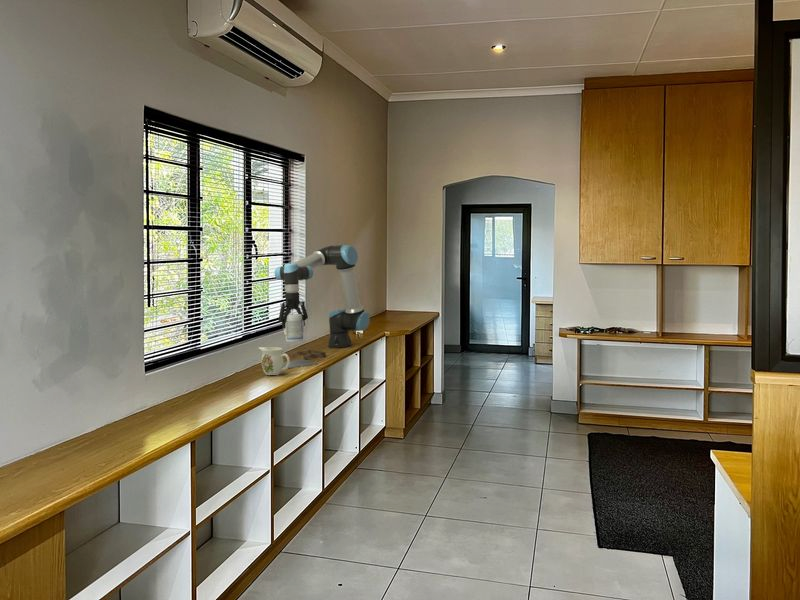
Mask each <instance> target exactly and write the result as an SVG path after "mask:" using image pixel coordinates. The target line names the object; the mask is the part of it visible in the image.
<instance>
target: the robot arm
mask: <svg viewBox="0 0 800 600" xmlns="http://www.w3.org/2000/svg"><path fill="white" fill-rule="evenodd" d="M358 258H359V256H358V251H357V249H356V248H355V247H354V246H352V245H350V244H348V245H347V244H343V245H342V244H340V245H329V246H325V247H323V248H320V249H317V250H315V251H314V252H312V254H310V255H308V256H305V257H303V258H301V259H299V260H297V261H294V262H290V263H285V264H284V266H277V267H276V268H275V269H274V278H276V280H279V281H284V292H285V294H284V296H285V297H284V298H285V302H281V303H280V305H279V306H280V309H279V310H280V311H279V315H278V321H279V322H280V323H281V325H282V326H281V327H282V329H283V334H284V335H285V334H288V332H287V322H286V320H287V316H288V315H289V314H290V312H291V311H292V310H295V311H296V314H302V325H303V333H305V326H306V320H308V319H309V316H308V312H307V310H306V305H305V304H306V303H305V302H306V301H304V300H303V301H302V300H300V286H299V285H300V283H299V282H300V281H307V280H311V279H312V278H313V277H314V270H313V269H314V268H316V267H322V266H335V268H336V270H337V271H338V272H339V274H340V275H339V276H340V281H341V285H342V289H343V294H344V299H345V304H346V308H342V309H336V310H331V311H330V312H329V313H328V321H329V336H328V341H327V348H330V347H331V349H340V347H344V348H350V347H352V345H353V343H352V339H351V337H350V334H349V333H350V332H349V331H357V332H360V331H365V330H367V328H368V327H369V325H370V322H371V321H370V319H371V317H370V314H369V313H368V312H367V311H365V307H364V306H363V305H362V304H361V300H360V296H359V295H360V294H359V289H358V285H357V280H356V275H355V274H356V273H355V270H354V269H355V267H356V264H357V262H358ZM349 346H350V347H349Z"/></svg>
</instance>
